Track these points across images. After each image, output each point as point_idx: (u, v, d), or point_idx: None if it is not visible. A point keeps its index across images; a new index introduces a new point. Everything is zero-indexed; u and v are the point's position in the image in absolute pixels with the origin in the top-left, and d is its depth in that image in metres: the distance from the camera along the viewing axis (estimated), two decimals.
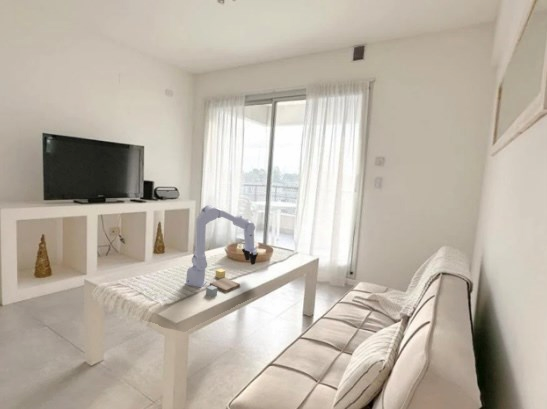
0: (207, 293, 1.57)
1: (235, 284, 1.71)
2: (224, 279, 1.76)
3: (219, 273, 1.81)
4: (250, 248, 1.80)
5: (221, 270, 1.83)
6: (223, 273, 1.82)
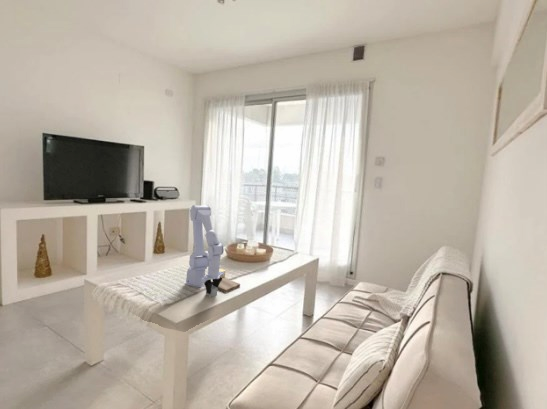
0: (207, 293, 1.57)
1: (235, 284, 1.71)
2: (224, 279, 1.76)
3: None
4: (208, 274, 1.55)
5: (221, 270, 1.83)
6: None
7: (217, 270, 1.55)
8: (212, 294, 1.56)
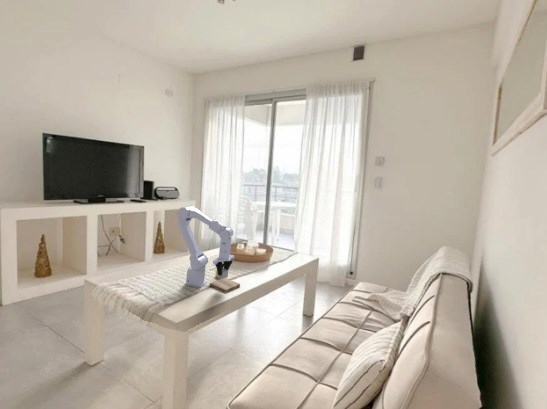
0: (218, 275, 1.65)
1: (235, 284, 1.71)
2: (224, 279, 1.76)
3: None
4: (219, 257, 1.63)
5: None
6: None
7: (228, 253, 1.62)
8: (223, 276, 1.64)
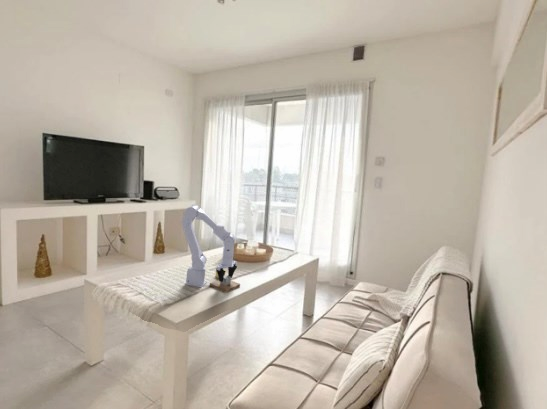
0: (221, 282, 1.69)
1: (235, 284, 1.71)
2: None
3: None
4: (222, 263, 1.67)
5: None
6: None
7: (231, 259, 1.67)
8: (226, 283, 1.68)
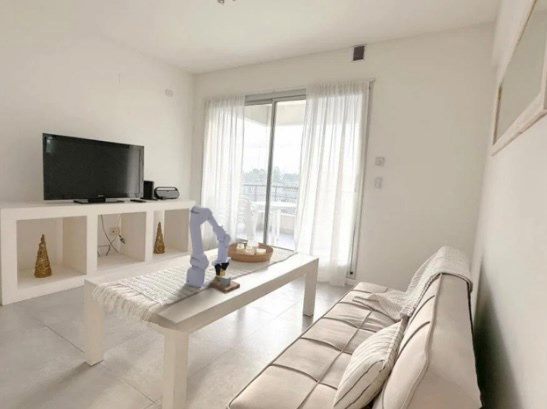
0: (221, 282, 1.69)
1: (235, 284, 1.71)
2: None
3: None
4: (217, 259, 1.80)
5: (221, 270, 1.83)
6: (223, 273, 1.82)
7: (225, 255, 1.80)
8: (226, 283, 1.68)
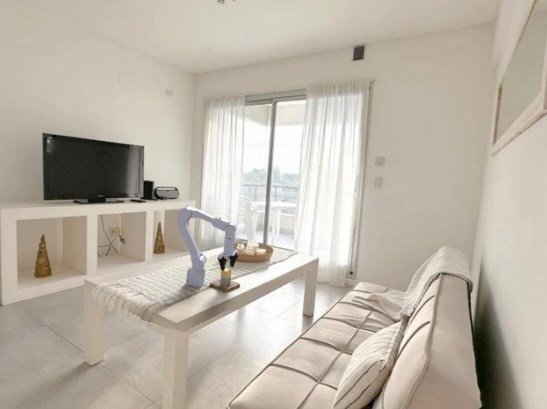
0: (221, 282, 1.69)
1: (235, 284, 1.71)
2: None
3: (225, 273, 1.67)
4: (224, 252, 1.66)
5: (227, 270, 1.69)
6: (229, 273, 1.69)
7: (232, 247, 1.66)
8: (226, 283, 1.68)
